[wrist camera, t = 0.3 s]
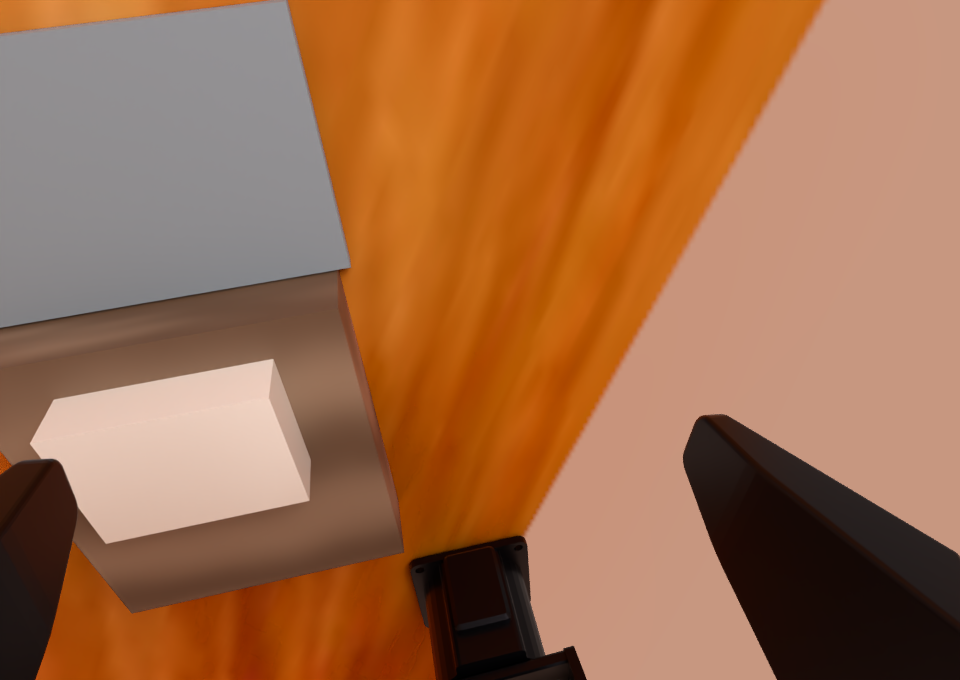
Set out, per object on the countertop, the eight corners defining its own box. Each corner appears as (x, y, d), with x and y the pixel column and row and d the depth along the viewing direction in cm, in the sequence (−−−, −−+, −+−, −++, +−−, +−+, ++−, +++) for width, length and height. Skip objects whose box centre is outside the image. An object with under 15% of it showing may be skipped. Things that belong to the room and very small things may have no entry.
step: (398, 500, 30) (404, 552, 28) (148, 554, 29) (131, 613, 27) (336, 264, 22) (338, 308, 20) (-14, 324, 21) (-58, 379, 19)
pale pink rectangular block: (310, 459, 23) (309, 500, 22) (121, 498, 23) (105, 543, 21) (273, 358, 20) (268, 397, 19) (53, 399, 20) (29, 443, 18)
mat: (350, 259, 22) (350, 267, 22) (-32, 324, 21) (-40, 334, 20) (286, -2, 17) (285, 1, 17) (-222, 61, 16) (-239, 66, 15)
